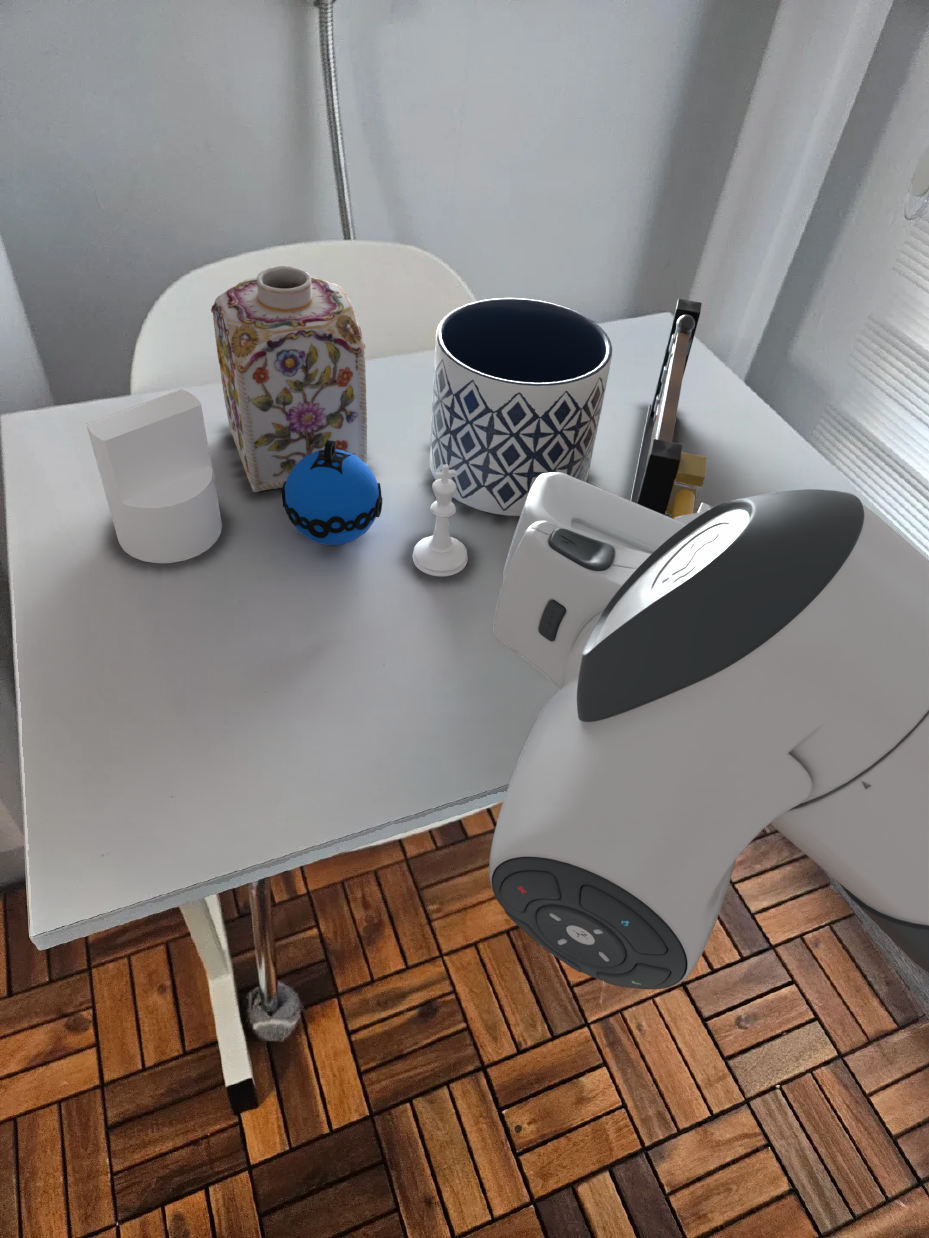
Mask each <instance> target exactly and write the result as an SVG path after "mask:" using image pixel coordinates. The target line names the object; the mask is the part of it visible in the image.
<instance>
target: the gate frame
mask: <svg viewBox="0 0 929 1238" xmlns="http://www.w3.org/2000/svg"><path fill="white" fill-rule="evenodd" d="M702 304H703V303H702V302H700V301H694V300H688V299H683V298H678V299H677V302H676V306H675V309H674V314H673V318H672V322H671V326H670V330H669V334H668V338H667V343H666V346H665V350H664V354H663V359H662V362H661V367H660V370H659V375H658V378H657V383H656V387H655V391H654V393H653V399H652V403H651V404H649V405H648V407H647V413H646V416H645V417H646V418H645V423H644V428H643V432H642V439H641V444H640V449H639V453H638V457H637V458H638V459H637V463H636V468H635V473H634V477H633V478H634V479H633V483H632V489H631V493H630V499H629V501H631V502H634V503H636V504H639V505H641V506H643V507H646V508H648V509H651V510H653V511H655V512H658V513H660V514H663V515H665V516H666V514H667V515H670V516H672V512H673V504H674V497H675V494H676V493H677V492H678V491H680V490H689V491H691V492H692V493H693V494H694V496H695V502H694V511H693V513H695V511H696V504H697V497H698V496H697V495H698V488H702V487H704V483H705V479H706V474H707V473H706V471H707V461H708V457H707V456H704V455H700V454H695V453H694V454H693V453H688V452H683V444H682V443H679V442H673V441H672V442H668V441H663V440H658V439H653V440H652V444H651V448H650V442H651V437H652V432H653V427H654V421H653V418H654V414H655V412H654V406H655V402H656V398H657V396H658V395H659V394H660V390H661V386H662V382H661V378H662V374H663V370H664V367H665V366H666V365H667V362H668V358H669V354H670V352H669V346H670V342H671V338H672V335H673V334H675V331H676V322H677V320H678V318H679V317H680V316H682V315H690V316H692V317H693V318H694V321H695V326H694V328H693V330H692V333H691V338H692V341H691V345H690V349H689V353H688V355H686V361H685V367H684V373H683V377H684V375H685V371H686V367H687V365H688V361H689V357H690V353H691V349H692V346H693V342H694V339H695V334H696V331H697V328H698V323H699V321H700V316H701V311H702ZM683 379H684V378H683ZM683 379H682V381H683ZM649 448H650V452H649ZM648 453H649V456H648ZM647 458H648V460H647ZM646 463H647V464H646ZM677 483H678V484H677ZM681 484H684V485H681ZM686 485H689V486H686ZM691 486H693V487H691ZM694 486H695V487H698V488H695V487H694Z"/></svg>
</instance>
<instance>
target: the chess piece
mask: <svg viewBox="0 0 929 1238" xmlns="http://www.w3.org/2000/svg"><path fill="white" fill-rule="evenodd" d="M434 477H435V478H434ZM450 477H456V472H455V470H454V469H453V470H449V466H448V464H444V465H442V471H439V472H435V476H433V478H434V482H433V483H432V485H431V488H432V491H433V493H434V496H435V501H434V502H432V504H431V506H430V512H431V514H433V515H434V516H436V518H435V524H434V529H433V533H432V535H428V536H426V537H423V538H422V539H421V540H419V541H418V542H417V543H416V544H415V545H414V548H413V552H412V561H413V564H414V566H415V567H416V568H417V569H418V570H419V571H421V572H423V573H424V574H426V575H429V576H433V577H450V576H454V575H456V574H458V573H461V571H463V570H464V569H465V568H466V566H467V565H468V560H469V558H468V549H467V548H466V546H465V545H464V543H463V542H461V541H460V540H459V539H457V538H455V537H453V536H451V531H450V521H449V520H450V519H449V518H450V517H451V516H453V515H454V514H455V513H456V510H457V508H456V506H455V504H454V503H453V502H452V500H453V495H454V493H455V491H456V484H455V482H453V481H452V480H450V479H448V478H450ZM435 479H436V480H435ZM437 479H438V480H437Z"/></svg>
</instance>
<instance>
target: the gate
mask: <svg viewBox="0 0 929 1238" xmlns="http://www.w3.org/2000/svg"><path fill="white" fill-rule="evenodd" d="M694 326H695V321H694V318H693V317H692V316H690V315H682V316H680V317H679V318H678V320H677V322H676V331H675V334H673V335H672V338H671V342H670V346H669V352H670V354H669V358H668V362H667V365H666V366H665V367H664V370H663V374H662V378H661V382H662V386H661V390H660V394H659V395H658V396H657V398H656V402H655V406H654V412H655V414H654V418H653V421H654V427H653V432H652V437H651V442H650V448H651V444H652V440H653V439H658V440H663V441H668V442H673V439H674V433H675V427H676V421H677V414H678V409H679V402H680V397H681V390H682V385H683V380H682V379H684V376H683V373H684V374H685V372H684V367H685V361H686V355H688V353H689V349H690V345H691V341H692V338H691V333H692V330H693V328H694ZM650 448H649V452H650ZM648 456H649V453H648ZM647 460H648V458H647ZM646 464H647V463H646Z"/></svg>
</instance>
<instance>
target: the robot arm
mask: <svg viewBox="0 0 929 1238" xmlns="http://www.w3.org/2000/svg"><path fill="white" fill-rule="evenodd" d="M503 567H504V568H503V573H502V581H503V582H502V585H501V588H500V592H499V596H498V600H497V604H496V609H495V615H494V619H493V620H494V621H493V633H494V634H495V636H496V637H497V638H498V640H500V641H501V643H503V644H504V645H505V646H507V647H508V648H510V649H511V650H512V651H513V652H515V653H517V654H518V655H519V656H520V657H522V658H523V659H524V660H526V662H528V663H529V664H530V665H532V666H533V667H534V668H536V669H537V670H538V671H539V672H541V674H543V675H544V676H545V677H546V678H547V679H549V680H550V681H551V682H552V683H553V684H554V686H556V687H558V689H559V690H558V691H556V692H555V693H554V694H553V696H552V697H551V698H550V699H549V700H548V701H547V703H546V704H545V705H544V707H542V710H541V711H540V713H539V714H538V717H537V719H536V721H535V723H534V724H533V727H532V729H531V730H530V733H529V735H528V738H527V740H526V742H525V744H524V747H523V748H522V751H521V754H519V755H520V756H519V758H518V760H517V763H516V764H515V765H516V766H515V768H514V771H513V772H512V776H511V779H510V781H509V784H508V787H507V790H506V792H505V794H504V798H503V801H502V804H501V807H500V810H499V814H498V817H497V822H496V824H495V828H494V833H493V837H492V842H491V847H490V852H489V853H490V854H489V861H488V877H489V882H490V887H491V890H492V893H493V895H494V897H495V899H496V901H497V902H498V904H499V905H500V906H501V908H502V909H503V911H504V913H505V914H506V916H507V917H508V918H509V919H510V920H511V921H512V922H513V923H514V924H515V925H516V926H517V927H518V928H520V930H522V931H523V932H524V933H525V934H526V935H527V936H528V937H530V938H531V939H532V940H533V941H534V942H535V943H537V944H538V945H539V946H541V947H542V948H543V949H544V950H545V951H547V952H548V953H550V954H551V955H552V956H554V958H557V959H558V960H559V961H561V962H562V963H564V964H565V965H566V966H568V967H570V968H571V969H573V970H575V971H576V972H578V973H583V974H585V975H587V976H589V977H591V978H593V979H597V980H598V981H602V982H604V983H605V984H609V985H612V986H617V987H621V988H626V989H627V988H628V989H639V990H655V991H656V990H664V989H669V988H673V987H675V986H678V985H680V984H681V983H683V982H685V980H686V979H688V978H689V977H690V975H691V974H692V972H693V971H694V970H695V968H696V967H697V965H698V963H699V961H700V960H701V957H702V955H703V954H704V951H705V949H706V947H707V945H708V943H709V940H710V938H711V936H712V933H713V931H714V928H715V926H716V923H717V922H718V921H717V920H718V917H719V915H720V913H721V909H722V908H723V907H722V906H723V904H724V900H725V898H726V894H727V891H728V889H729V886H730V883H731V878H732V875H733V872H734V868H735V865H736V861H737V859H738V858H739V857H740V855H741V854H742V853H743V852H744V851H745V850H746V849H747V847H748V846H749V845H750V844H751V843H752V841H753V840H754V839H755V838H756V837H757V836H758V835H759V834H760V833H761V832H762V831H763V830H764V829H765V828H766V827H767V826H769V825H770V826H772V827H773V828H774V829H775V830H776V831H778V832H779V833H780V834H781V835H782V836H784V838H786V839H787V840H788V841H789V842H790V843H792V844H793V845H794V846H795V847H796V848H797V849H799V850H800V851H801V852H802V853H803V854H805V856H807V857H808V858H809V859H811V860H812V862H814V863H815V864H816V865H817V866H819V867H820V869H822V870H824V872H826V873H827V874H828V875H829V876H831V877H832V878H833V879H834V881H835V880H836V882H837V883H839V884H840V887H841V888H842V889H843V890H844V893H846V894H847V896H849V898H850V899H851V900H852V901H853V902H854V903H855V904H856V905H857V906H858V907H859V908H860V909H861V910H862V911H863V912H864V913H865V914H866V915H867V916H868V918H870V919H871V920H872V921H873V922H874V924H876V925H877V926H878V927H879V928H880V929H881V930H882V932H883V933H884V934H886V936H887V937H888V938H890V940H891V941H892V942H893V943H894V944H895V945H896V946H897V947H898V948H899V949H900V950H901V951H902V952H903V953H904V954H905V955H906V956H907V957H908V958H909V959H910V960H911V961H912V962H913V963H914V964H915V965H917V966H918V967H919V968H921V969H922V970H923V971H925V972H927V973H929V559H927V558H926V556H924V555H923V554H922V553H921V552H920V551H918V550H917V549H916V547H914V545H912V544H911V543H910V542H908V541H907V540H906V538H904V537H903V536H902V535H901V534H899V533H898V531H896V530H895V528H893V527H892V526H890V524H889V523H887V522H886V521H885V520H884V519H882V517H880V515H878V514H876V513H875V512H874V511H873V510H871V508H869V507H868V506H866V504H864V503H862V501H861V499H860V498H859V497H857V495H856V494H853V493H850V492H846V491H840V490H832V489H831V490H830V489H819V488H815V489H813V488H812V489H810V488H809V489H807V488H806V489H792V490H791V489H790V490H782V491H777V492H770V493H763V494H756V495H752V496H746V497H743V498H737V499H733V500H729V501H725V502H722V503H720V504H718V505H715V506H712V505H710V504H707V503H705V502H700V505H699V507H698V509H697V511H696V512H694V513H692V514H688V515H683V516H679V517H675V518H674V519H672V517H670V516H667V515H666V514H665V515H663V514H660V513H658V512H655V511H653V510H651V509H648V508H646V507H643V506H641V505H639V504H636V503H634V502H631V501H630V499H626V498H624V497H622V496H619V495H617V494H614V493H613V492H610V491H607V490H605V489H603V488H600V487H598V486H595V485H593V484H590V483H589V482H587V481H586V482H584V481H581V480H579V479H576V478H574V477H572V476H570V475H567V474H565V473H562V472H550V473H542V474H540V475H539V476H538V477H537V479H536V480H535V482H534V483H533V485H532V487H531V489H530V491H529V493H528V496H527V499H526V501H525V504H524V507H523V510H522V513H521V516H519V519H518V521H517V524H516V527H515V530H514V533H513V536H512V540H511V544H510V547H509V550H508V554H507V557H506V560H505V564H504V566H503Z"/></svg>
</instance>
